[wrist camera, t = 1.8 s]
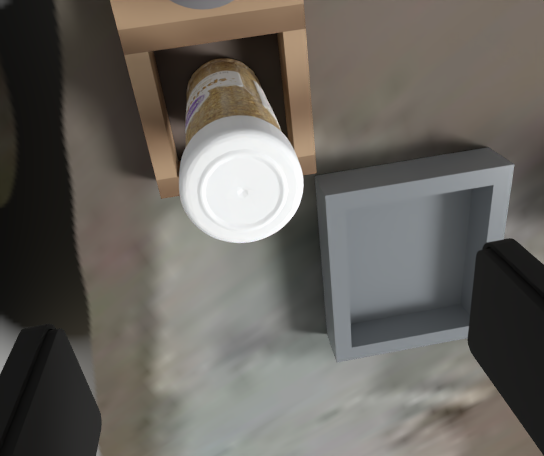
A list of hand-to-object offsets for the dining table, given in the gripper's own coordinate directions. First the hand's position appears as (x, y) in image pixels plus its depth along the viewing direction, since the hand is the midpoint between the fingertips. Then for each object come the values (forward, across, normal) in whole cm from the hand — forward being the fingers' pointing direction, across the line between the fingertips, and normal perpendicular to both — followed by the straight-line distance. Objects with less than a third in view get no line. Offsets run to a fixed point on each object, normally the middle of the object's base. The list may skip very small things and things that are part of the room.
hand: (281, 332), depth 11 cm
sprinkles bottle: (+21, 0, 0) cm, 21 cm away
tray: (+21, -11, +13) cm, 27 cm away
